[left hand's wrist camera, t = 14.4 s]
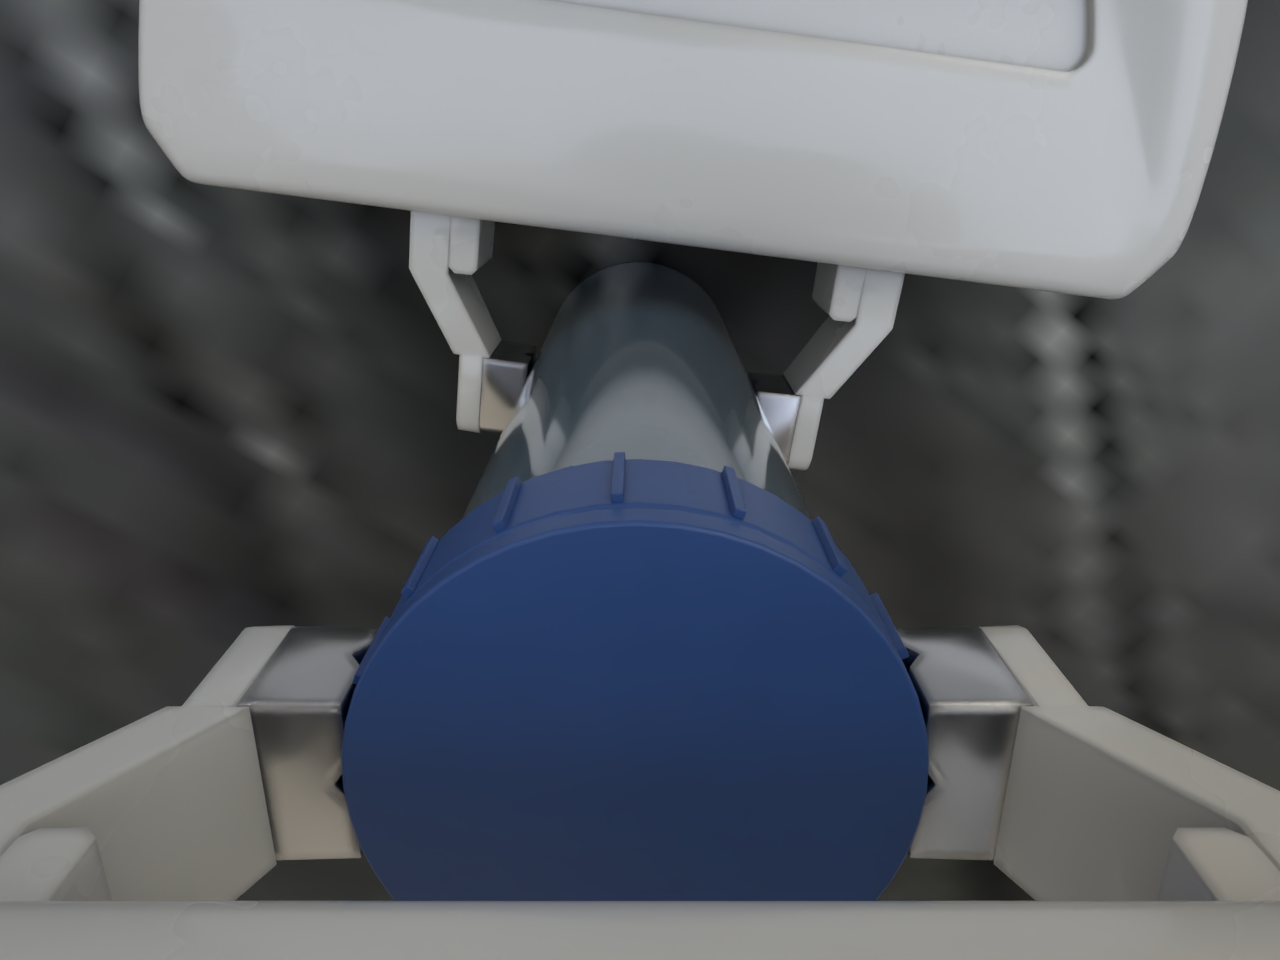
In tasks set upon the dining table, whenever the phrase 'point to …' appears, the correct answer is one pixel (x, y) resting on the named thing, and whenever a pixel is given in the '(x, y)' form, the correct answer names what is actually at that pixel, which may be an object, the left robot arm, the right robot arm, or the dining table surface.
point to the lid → (635, 703)
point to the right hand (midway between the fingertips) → (635, 443)
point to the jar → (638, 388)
